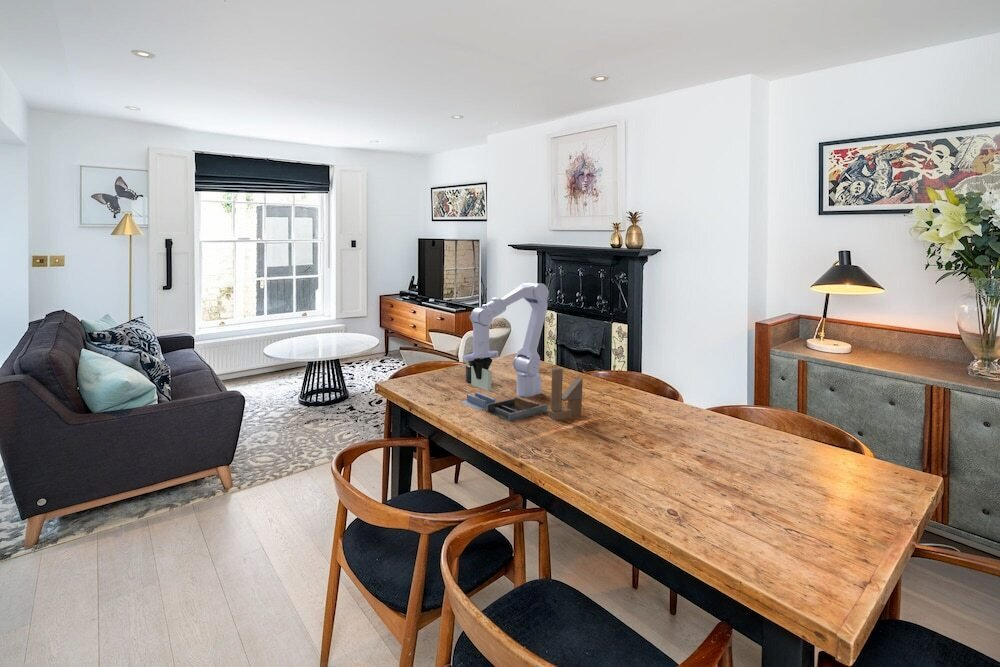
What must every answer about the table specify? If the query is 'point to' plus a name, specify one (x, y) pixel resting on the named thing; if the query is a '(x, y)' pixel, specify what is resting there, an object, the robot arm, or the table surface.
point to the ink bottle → (468, 370)
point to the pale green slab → (482, 379)
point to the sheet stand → (478, 401)
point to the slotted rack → (513, 410)
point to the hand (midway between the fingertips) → (481, 378)
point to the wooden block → (565, 397)
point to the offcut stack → (524, 403)
